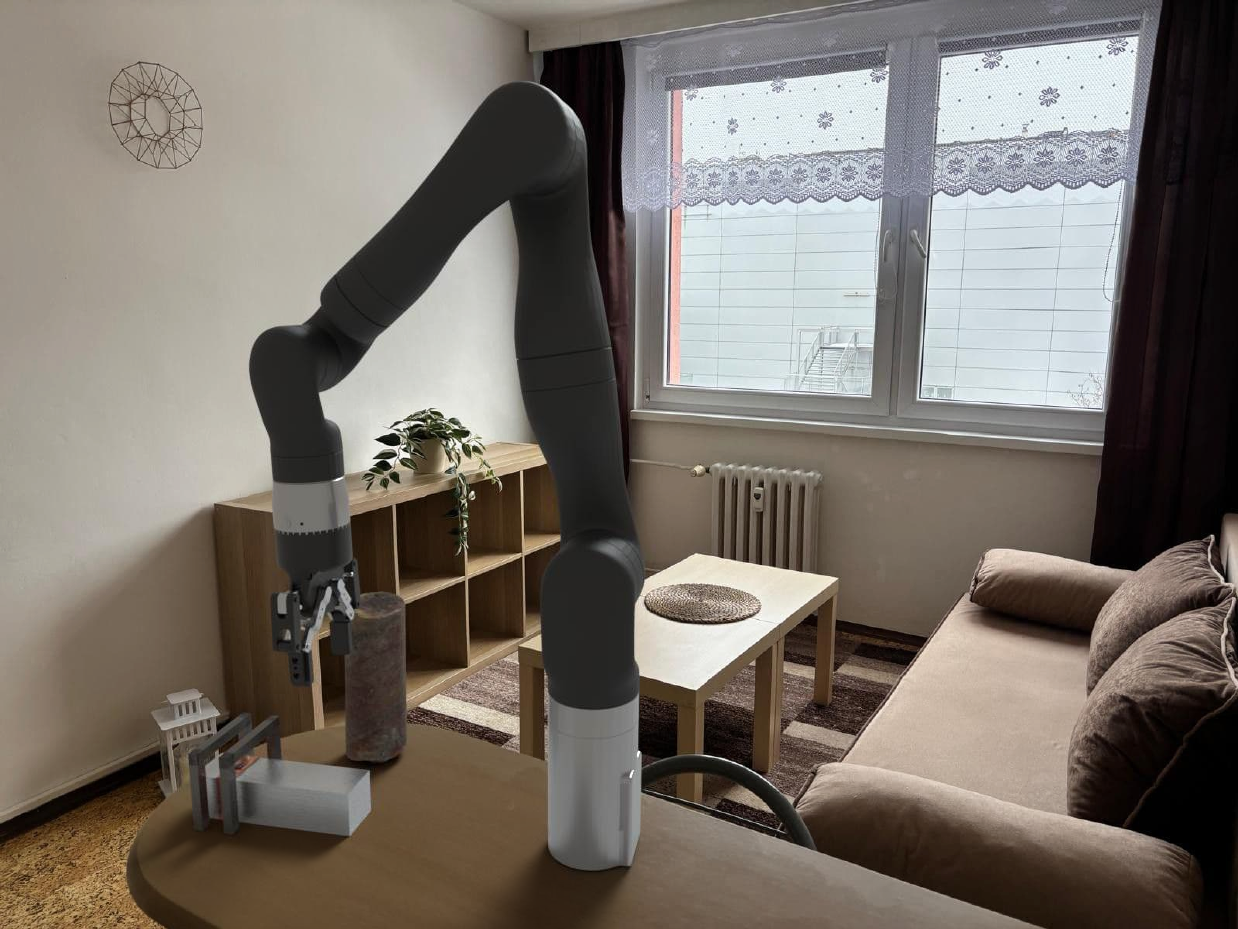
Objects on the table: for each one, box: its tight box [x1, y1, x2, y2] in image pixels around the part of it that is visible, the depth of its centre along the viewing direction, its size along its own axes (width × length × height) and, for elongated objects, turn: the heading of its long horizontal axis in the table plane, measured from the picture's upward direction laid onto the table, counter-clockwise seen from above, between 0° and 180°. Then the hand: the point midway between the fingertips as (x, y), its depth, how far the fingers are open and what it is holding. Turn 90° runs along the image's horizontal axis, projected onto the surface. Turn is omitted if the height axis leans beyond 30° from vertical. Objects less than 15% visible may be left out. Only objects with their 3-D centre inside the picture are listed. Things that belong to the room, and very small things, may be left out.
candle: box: [344, 591, 408, 764], centre depth 111 cm, size 8×7×20 cm
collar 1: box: [187, 712, 255, 832], centre depth 101 cm, size 1×10×9 cm, turn 169°
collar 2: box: [218, 715, 283, 836], centre depth 100 cm, size 1×10×9 cm, turn 169°
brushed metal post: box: [205, 752, 372, 837], centre depth 100 cm, size 18×5×5 cm, turn 79°
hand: (323, 668), depth 97 cm, fingers open, 8 cm apart
